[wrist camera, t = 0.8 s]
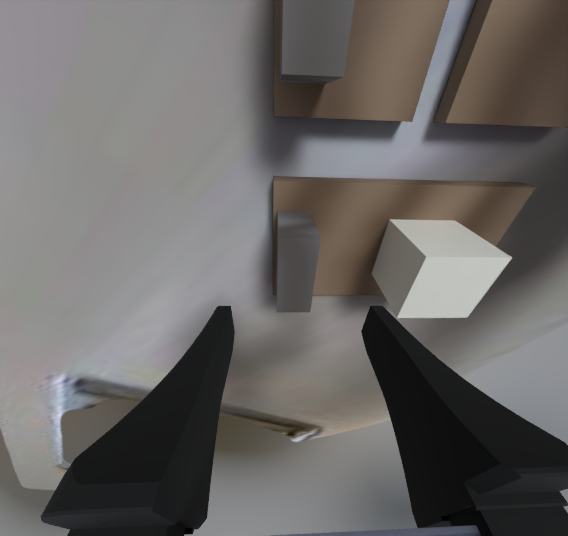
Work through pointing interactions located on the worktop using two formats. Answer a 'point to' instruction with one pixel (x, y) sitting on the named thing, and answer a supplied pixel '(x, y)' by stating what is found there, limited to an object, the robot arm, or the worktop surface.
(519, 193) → the walnut strip
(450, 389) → the robot arm
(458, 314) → the ceramic block
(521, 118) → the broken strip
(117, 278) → the worktop surface
